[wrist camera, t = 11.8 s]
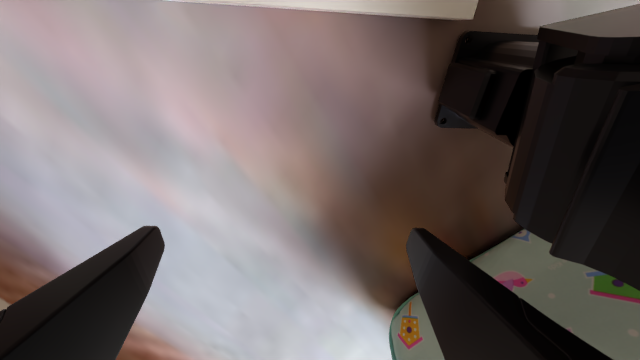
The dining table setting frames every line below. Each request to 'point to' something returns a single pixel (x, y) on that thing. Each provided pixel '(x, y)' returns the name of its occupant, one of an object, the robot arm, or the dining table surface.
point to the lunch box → (539, 301)
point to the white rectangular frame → (369, 7)
